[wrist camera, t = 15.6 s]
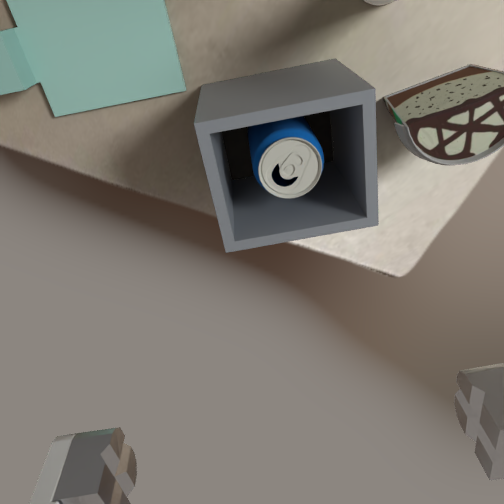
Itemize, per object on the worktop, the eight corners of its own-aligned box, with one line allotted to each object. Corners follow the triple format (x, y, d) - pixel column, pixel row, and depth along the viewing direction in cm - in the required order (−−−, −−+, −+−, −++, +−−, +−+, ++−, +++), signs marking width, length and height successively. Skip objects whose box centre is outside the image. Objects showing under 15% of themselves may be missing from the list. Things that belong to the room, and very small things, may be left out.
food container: (380, 153, 50) (412, 188, 42) (369, 101, 47) (401, 129, 39) (488, 114, 49) (544, 143, 40) (485, 58, 46) (544, 77, 37)
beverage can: (235, 136, 49) (239, 179, 38) (270, 86, 46) (283, 117, 36) (282, 167, 51) (296, 215, 41) (317, 120, 48) (342, 159, 38)
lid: (-28, -10, 40) (-51, -8, 37) (152, -48, 39) (146, -51, 36) (30, 120, 46) (15, 131, 43) (186, 89, 46) (184, 97, 42)
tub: (201, 85, 45) (193, 123, 34) (335, 58, 45) (375, 88, 33) (225, 189, 52) (226, 252, 40) (342, 167, 51) (378, 225, 39)
